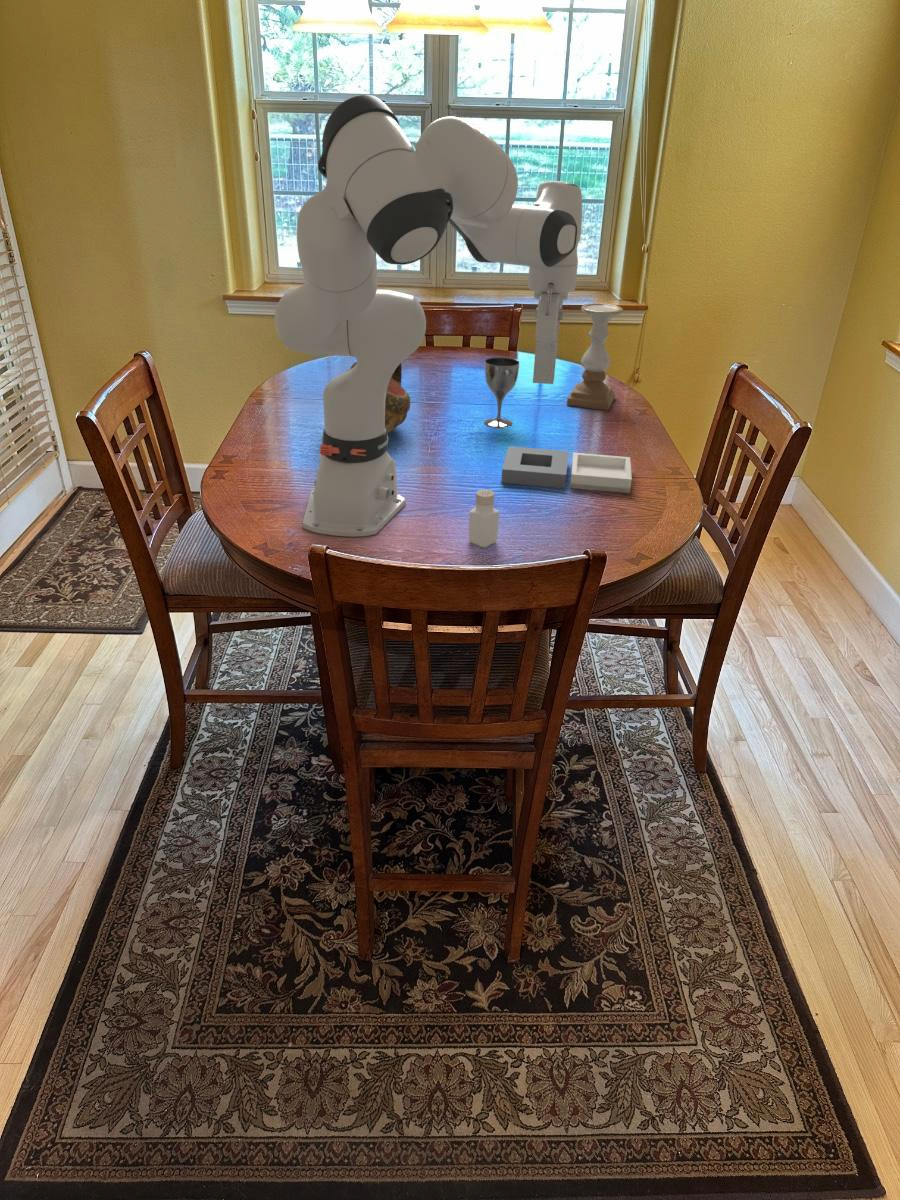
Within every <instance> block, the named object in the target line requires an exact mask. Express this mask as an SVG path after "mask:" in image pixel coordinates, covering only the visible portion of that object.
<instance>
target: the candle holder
mask: <svg viewBox="0 0 900 1200" xmlns="http://www.w3.org/2000/svg"><path fill="white" fill-rule="evenodd" d="M623 311H624V309H623V307H621V306H619V305H615V304H612V303H610V304H609V303H604V302H603V303H601V302H594V303H593V302H591V303H586V304H583V305H582V306H581V312H583V313H585V314H588V315H590V319H591V321H592V327H591V329H590V330H589V332H588V335H589V338H590V340H591V343H590V345H589V347H588V348H587V350H586V351H585V352H584V353H583V356H582V357H581V361H580V363H581V366H582V367H583V368H584V369H585V370H583V372H582V375H581V378H582V379H583V380H582V381H580V382H577V383H576V384H575V386H574V387H573V388H572V391H571V392H570V394H569V395H568V397H567V398H566V399H567V400H566V406H568V405H569V406H570V407H576V408H584V409H593V410H600V411H609V410H610V408H611V406H612V404H613V403H614V401H615V397H616V391H613V386H609V385H607V384H605V382H604V381H605V380H606V377H607V375H606V373H605V371H606V370H607V369H608V368H609V367H610V365H611V359H610V356H609V353H608V352H607V349H606V346H605V343H606V340H607V339H608V337H610V332H609V330H608V323H610V321H611V320H612V318H613V316H620V315H622V314H623ZM569 406H568V407H569Z"/></svg>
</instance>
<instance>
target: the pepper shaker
mask: <svg viewBox="0 0 900 1200" xmlns="http://www.w3.org/2000/svg"><path fill="white" fill-rule="evenodd" d="M495 495H496V494H495V492H494V491H493V490H491V489H487V488H486V489H485V488H484V489H482V488H481V489H479V490H477V491H476V492H475V507H474V508H472V509H470V511H469V516H468V539H467V540H468V541H469V542H470V543H471V544H474V545H476V546H478V547H480V548H487V547H489V546H491V545H493V544H494V543H496V542H497V541H498V533H499V520H500V519H499V518H500V512H499V510H498V509H497V508H494V504H495Z"/></svg>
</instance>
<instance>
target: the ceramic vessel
mask: <svg viewBox="0 0 900 1200" xmlns="http://www.w3.org/2000/svg"><path fill="white" fill-rule="evenodd" d="M356 364H357V361H355V362H354V363H353V364H352V365H351V366H350V368H349V369H347V370H346V371H345V372H347V371H349V370H351V369H352V368H354V367H355V366H356ZM402 368H403V367H402V362H401V363H400V364H399V365H398V367H397V368H396V369H395V371H394V373H393V374H392V376H391V379H390V381H389V384H388V387H387V392H386V401H385V428H386V429H387V435H388V434H390V433H392V432H394V430H395V429H396V428H398V426H400V425H402V424H403V423H404V422H405V421H406V418H407V415H408V412H409V411H410V409H411V404H412V403H411V397H410V394H409V392H407V390H406V389H405V388H403V387H402Z"/></svg>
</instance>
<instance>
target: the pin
mask: <svg viewBox="0 0 900 1200" xmlns="http://www.w3.org/2000/svg"><path fill="white" fill-rule="evenodd" d="M537 312H538V307H536V308H535V316H534V317H535V319H536V320H537ZM548 315H549V314H548ZM548 315H547V316H548ZM563 319H564V309H563V308H562V309H561V308H559V313H558V326H557V333H556V338H555V341H554V342H552V343H551V348H550V357H549V358H548V359H542V358H541V357H540V352H541V344H540V341H537V340H536V339H535V348H534V361H533V362H534V363H533V375H532V377H533V378H532V383H535V384H546V385H554V381H555V374H556V362H557V352H558V340H559V330H560V329H559V328H560V321H562V320H563Z"/></svg>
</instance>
